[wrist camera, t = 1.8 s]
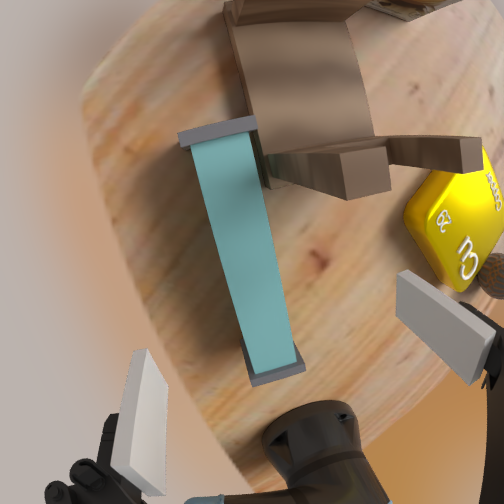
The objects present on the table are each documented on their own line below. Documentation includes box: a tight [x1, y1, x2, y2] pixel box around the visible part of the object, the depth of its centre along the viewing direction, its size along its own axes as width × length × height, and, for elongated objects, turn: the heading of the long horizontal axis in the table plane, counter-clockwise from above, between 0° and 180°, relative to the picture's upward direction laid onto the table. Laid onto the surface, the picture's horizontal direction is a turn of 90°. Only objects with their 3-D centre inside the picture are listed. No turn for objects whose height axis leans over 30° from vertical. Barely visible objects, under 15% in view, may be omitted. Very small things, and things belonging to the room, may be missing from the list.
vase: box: [478, 253, 504, 299], centre depth 31 cm, size 7×7×9 cm
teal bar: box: [177, 115, 306, 387], centre depth 24 cm, size 22×5×7 cm, turn 13°
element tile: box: [403, 145, 504, 292], centre depth 29 cm, size 15×15×5 cm
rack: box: [223, 0, 484, 201], centre depth 16 cm, size 18×11×15 cm, turn 13°
